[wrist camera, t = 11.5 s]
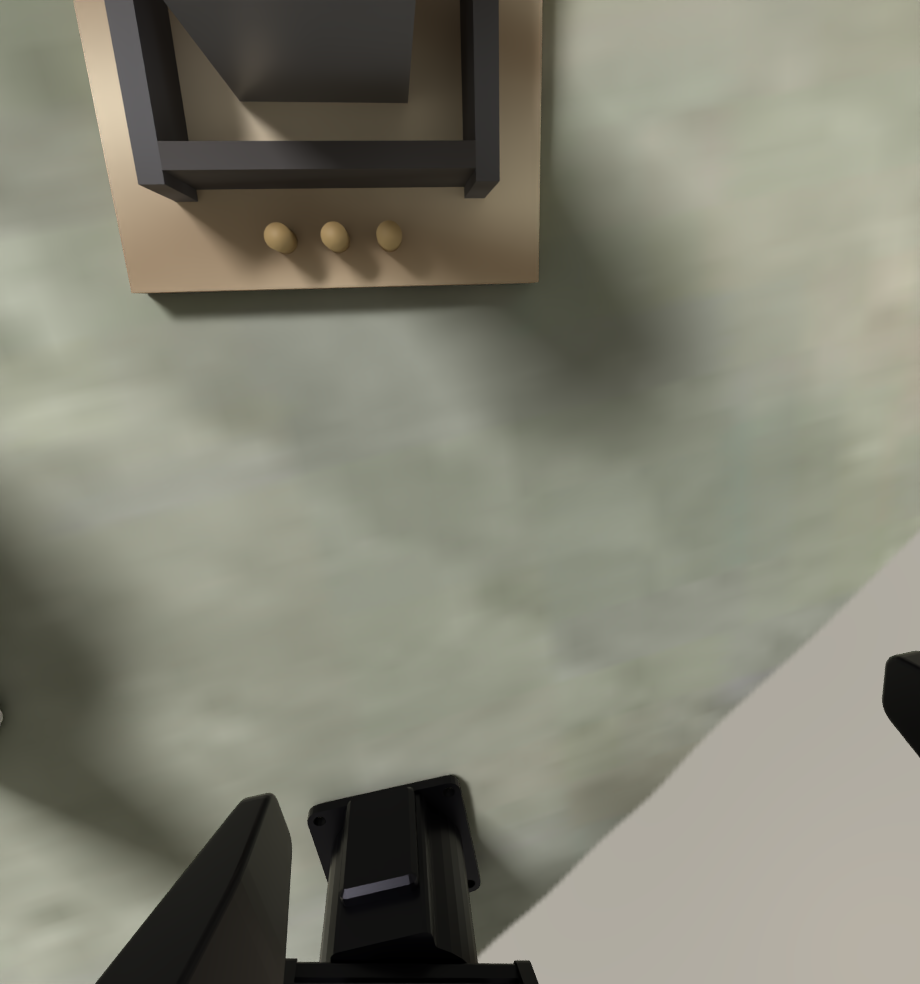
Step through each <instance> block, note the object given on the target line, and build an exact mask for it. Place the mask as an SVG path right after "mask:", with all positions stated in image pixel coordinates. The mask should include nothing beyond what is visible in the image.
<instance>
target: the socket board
mask: <svg viewBox="0 0 920 984" xmlns="http://www.w3.org/2000/svg"><path fill="white" fill-rule="evenodd" d="M73 1H74V6H75V11H76V16H77V21H78V26H79V31H80V36H81V41H82V46H83V51H84V57H85V62H86V67H87V72H88V77H89V82H90V87H91V92H92V97H93V102H94V107H95V112H96V117H97V122H98V127H99V132H100V137H101V142H102V147H103V152H104V157H105V162H106V167H107V172H108V177H109V182H110V187H111V192H112V197H113V202H114V207H115V212H116V217H117V222H118V227H119V232H120V237H121V242H122V247H123V252H124V257H125V262H126V267H127V272H128V277H129V282H130V287H131V292H132V293H179V292H216V291H253V290H290V289H327V288H364V287H401V286H438V285H475V284H512V283H535V282H538V281H539V213H540V144H541V76H542V8H543V0H416V3H415V16H414V29H413V42H412V55H411V69H410V82H409V95H408V103H344V102H242V101H239V99H238V98H237V97H236V95H235V94H234V93H233V92H232V90H231V89H230V88H229V86H228V85H227V84H226V82H225V81H224V80H223V78H222V77H221V76H220V74H219V73H218V72H217V70H216V69H215V68H214V66H213V65H212V64H211V63H210V61H209V60H208V59H207V57H206V56H205V55H204V53H203V52H202V51H201V49H200V48H199V47H198V45H197V44H196V43H195V41H194V40H193V39H192V38H191V36H190V35H189V34H188V32H187V31H186V30H185V28H184V27H183V26H182V24H181V23H180V22H179V20H178V19H177V18H176V16H175V15H174V14H173V12H172V11H171V10H170V9H169V7H168V6H167V5H166V3H165V2H164V1H163V0H73Z"/></svg>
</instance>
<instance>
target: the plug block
mask: <svg viewBox="0 0 920 984" xmlns="http://www.w3.org/2000/svg"><path fill="white" fill-rule="evenodd" d="M163 1H164V2H165V3H166V5H167V6H168V7H169V9H170V10H171V11H172V12H173V14H174V15H175V16H176V18H177V19H178V20H179V22H180V23H181V24H182V26H183V27H184V28H185V30H186V31H187V32H188V34H189V35H190V36H191V38H192V39H193V40H194V41H195V43H196V44H197V45H198V47H199V48H200V49H201V51H202V52H203V53H204V55H205V56H206V57H207V59H208V60H209V61H210V63H211V64H212V65H213V66H214V68H215V69H216V70H217V72H218V73H219V74H220V76H221V77H222V78H223V80H224V81H225V82H226V84H227V85H228V86H229V88H230V89H231V90H232V92H233V93H234V94H235V95H236V97H237V98H238V99H239V101H242V102H344V103H408V95H409V82H410V69H411V55H412V42H413V29H414V16H415V3H416V0H163Z"/></svg>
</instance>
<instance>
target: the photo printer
mask: <svg viewBox="0 0 920 984" xmlns="http://www.w3.org/2000/svg"><path fill="white" fill-rule="evenodd" d="M2 720H3V714H2V712H1V710H0V726H1V722H2Z"/></svg>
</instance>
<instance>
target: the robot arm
mask: <svg viewBox="0 0 920 984" xmlns="http://www.w3.org/2000/svg"><path fill="white" fill-rule="evenodd" d="M882 703H883V707H884V710H885V713H886V715H887V716H888V718H889V719H890V721H891V722H892V723H893V725H894V726H895V727H896V728H897V730H898V731H899V732H900V733H901V735H902V736H903V737H904V738H905V740H906V741H907V742H908V743H909V745H910V746H911V747H912V748H913V750H914V751H915V752H916V753H917V754H918V756H919V757H920V651H912V652H908V653H903V654H899V655H894V656H892V657H890V658H889V659H888V660H887V662H886V666H885V677H884V685H883V695H882ZM446 788H451V789H446ZM318 817H323V818H318ZM307 821H308V826H309V829H310V832H311V835H312V838H313V841H314V844H315V847H316V850H317V853H318V855H319V858H320V861H321V864H322V867H323V870H324V873H325V876H326V879H327V882H328V888H327V897H326V906H325V915H324V924H323V933H322V942H321V951H320V960H319V962H297V959H290V958H286V941H287V925H288V909H289V893H290V877H291V861H292V843H291V837H290V833H289V830H288V827H287V825H286V822H285V819H284V817H283V814H282V811H281V808H280V806H279V803H278V800H277V798H276V797H275V795H274V794H272V793H265V794H261V795H256V796H252V797H247V798H245V799H243V800H242V801H241V802H240V803H239V804H238V805H237V806H236V807H235V809H234V810H233V811H232V813H231V814H230V815H229V816H228V818H227V819H226V820H225V821H224V823H223V824H222V825H221V826H220V828H219V829H218V830H217V831H216V833H215V834H214V835H213V836H212V838H211V839H210V840H209V841H208V843H207V844H206V845H205V846H204V848H203V849H202V850H201V851H200V853H199V854H198V855H197V856H196V858H195V859H194V860H193V861H192V863H191V864H190V865H189V866H188V868H187V869H186V870H185V871H184V873H183V874H182V875H181V877H180V878H179V879H178V880H177V882H176V883H175V884H174V885H173V887H172V888H171V889H170V890H169V892H168V893H167V894H166V895H165V897H164V898H163V899H162V900H161V902H160V903H159V904H158V905H157V907H156V908H155V909H154V910H153V912H152V913H151V914H150V915H149V917H148V918H147V919H146V920H145V922H144V923H143V924H142V925H141V927H140V928H139V929H138V930H137V932H136V933H135V934H134V935H133V937H132V938H131V939H130V941H129V942H128V943H127V944H126V946H125V947H124V948H123V949H122V951H121V952H120V953H119V954H118V956H117V957H116V958H115V959H114V961H113V962H112V963H111V964H110V966H109V967H108V968H107V969H106V971H105V972H104V973H103V974H102V976H101V977H100V978H99V979H98V981H97V982H96V983H95V984H538V981H537V978H536V975H535V973H534V970H533V967H532V965H531V962H530V961H514V963H513V964H489V963H487V964H485V963H481V964H479V963H478V960H477V953H476V945H475V937H474V929H473V922H472V914H471V906H470V898H469V892H472V891H475V890H476V889H478V888H479V886H480V875H479V870H478V865H477V861H476V856H475V852H474V847H473V842H472V838H471V833H470V829H469V824H468V820H467V815H466V810H465V806H464V801H463V797H462V792H461V787H460V783H459V781H458V779H457V778H456V777H454V776H443V777H439V778H434V779H430V780H425V781H421V782H416V783H412V784H407V785H403V786H398V787H394V788H389V789H385V790H380V791H376V792H372V793H367V794H363V795H358V796H354V797H349V798H345V799H340V800H336V801H331V802H327V803H322V804H318V805H315V806H313V807H312V808H311V809H310V811H309V814H308V820H307Z"/></svg>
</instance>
